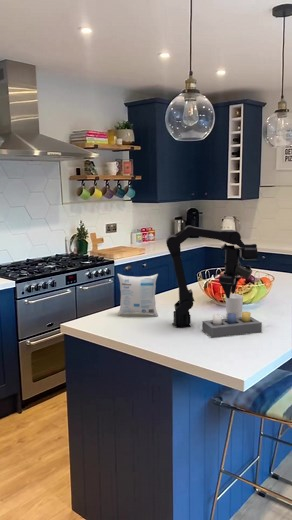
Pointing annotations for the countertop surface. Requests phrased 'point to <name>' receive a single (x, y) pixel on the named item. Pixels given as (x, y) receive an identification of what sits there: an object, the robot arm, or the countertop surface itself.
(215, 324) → the white key
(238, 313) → the white cup
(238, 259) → the robot arm
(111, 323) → the countertop surface
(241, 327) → the key block
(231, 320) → the navy key
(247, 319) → the ochre key
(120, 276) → the pouch
